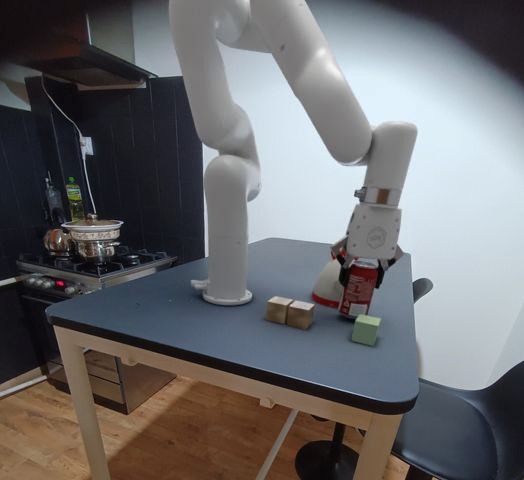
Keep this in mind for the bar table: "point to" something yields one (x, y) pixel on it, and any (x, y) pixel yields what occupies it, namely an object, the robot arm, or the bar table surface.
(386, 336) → the bar table surface
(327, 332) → the bar table surface
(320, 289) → the kitchen timer
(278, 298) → the maple block
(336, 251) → the robot arm
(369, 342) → the sage block
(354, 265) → the soda can
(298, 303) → the beech block
